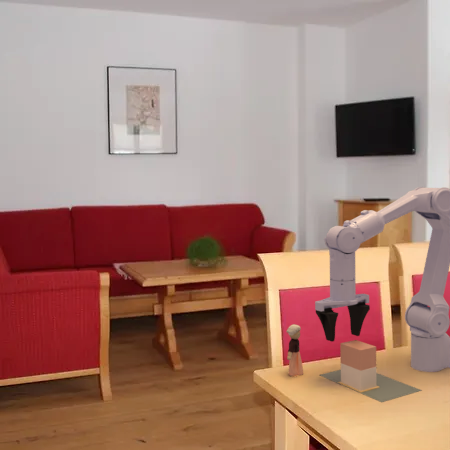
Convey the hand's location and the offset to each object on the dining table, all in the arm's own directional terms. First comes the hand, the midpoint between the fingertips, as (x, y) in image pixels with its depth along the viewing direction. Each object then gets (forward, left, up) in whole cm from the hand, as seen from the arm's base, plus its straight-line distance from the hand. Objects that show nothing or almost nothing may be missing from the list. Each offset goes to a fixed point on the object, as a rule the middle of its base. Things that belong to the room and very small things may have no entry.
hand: (343, 337), depth 134 cm
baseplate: (-3, +5, -10) cm, 12 cm away
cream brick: (0, +5, -10) cm, 11 cm away
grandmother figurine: (+7, -9, -11) cm, 16 cm away
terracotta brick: (0, +5, -5) cm, 7 cm away
